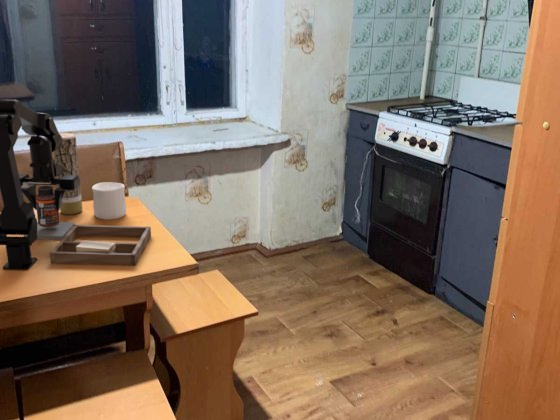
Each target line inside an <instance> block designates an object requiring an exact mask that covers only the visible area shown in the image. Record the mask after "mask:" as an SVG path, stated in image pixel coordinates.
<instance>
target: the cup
mask: <svg viewBox="0 0 560 420" xmlns="http://www.w3.org/2000/svg"><path fill="white" fill-rule="evenodd" d="M125 187H126V186H125V184H124V183H121V182H114V181H103V182H97V183H95V184H94V185H92V187H91V190H92V195H93V196H92V199H93V204H92V206H93V208H92V209H93V214H94V216H95V218H98V219H100V220H115V219H116V220H117V219H121V218H122V217H124V216H125V215H126V213H127V202H126V195H125Z"/></svg>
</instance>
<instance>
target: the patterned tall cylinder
mask: <svg viewBox="0 0 560 420" xmlns="http://www.w3.org/2000/svg"><path fill="white" fill-rule="evenodd" d="M59 134H60V135H61V137H62V139H63V142H62V145H61V146H60V147H59V148H58V149H56V150H55V151H54V152H53V155H54V157H53V158H54V160H55V164H59V165H61V175H58V176H57V177H56V178H63V177H64V176H65V175H77V176H78V177H79V178H80V177H81V176H80V168H79V157H78V148H77V147H78V146H77V145H78V144H77V136H76V134H75V133H71V132H60V133H59ZM82 202H83V201H82V189H81V184H80V185H79V186H78V187H77V188H75V189H73V190H67V191H66V192H65V193H64V195H63V198H62V202H61V206H60V210H59V212H60V213H61V214H63V215H75V214H79V213H81V212H82V210H83V203H82Z"/></svg>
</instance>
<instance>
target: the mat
mask: <svg viewBox="0 0 560 420" xmlns="http://www.w3.org/2000/svg"><path fill="white" fill-rule="evenodd" d="M75 223H76V222H74V221H73V222H72V221H71V222H70V221H69V222H68V221H60V222H59V224H58V225H56V226H53V227H41V226H39V224H38V221H37V240H60V241H61V240H62V239H63V238H64V236H65V235H66V234H67V233H68V232H69V231H70V230H71V229H72V228H73V226H74V225H76V224H75ZM27 236H28V235H23V237H27Z"/></svg>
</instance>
